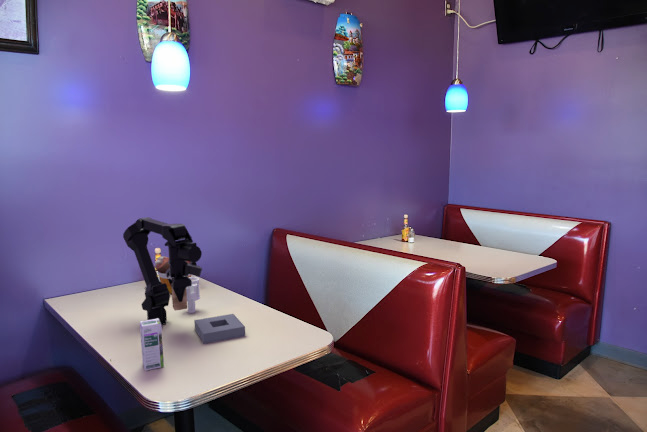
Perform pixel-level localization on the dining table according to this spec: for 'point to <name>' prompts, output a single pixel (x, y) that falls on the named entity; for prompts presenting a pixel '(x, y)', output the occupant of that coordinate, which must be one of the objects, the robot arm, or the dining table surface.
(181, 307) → the oak peg
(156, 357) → the syrup box
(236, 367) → the dining table surface
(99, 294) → the dining table surface
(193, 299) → the windowed cylinder housing
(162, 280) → the bucket of meat
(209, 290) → the dining table surface
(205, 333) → the socket block
